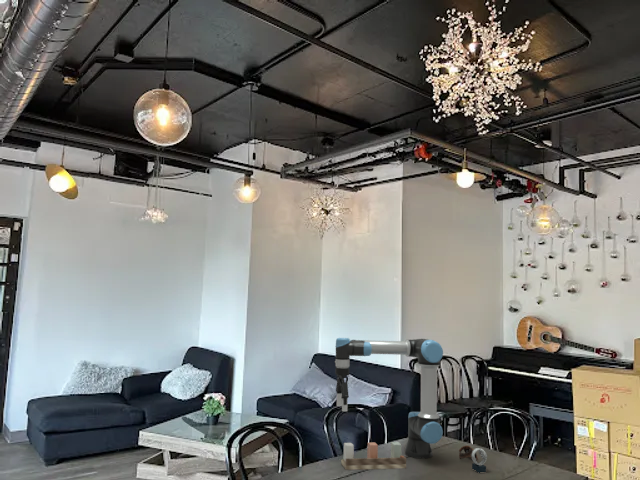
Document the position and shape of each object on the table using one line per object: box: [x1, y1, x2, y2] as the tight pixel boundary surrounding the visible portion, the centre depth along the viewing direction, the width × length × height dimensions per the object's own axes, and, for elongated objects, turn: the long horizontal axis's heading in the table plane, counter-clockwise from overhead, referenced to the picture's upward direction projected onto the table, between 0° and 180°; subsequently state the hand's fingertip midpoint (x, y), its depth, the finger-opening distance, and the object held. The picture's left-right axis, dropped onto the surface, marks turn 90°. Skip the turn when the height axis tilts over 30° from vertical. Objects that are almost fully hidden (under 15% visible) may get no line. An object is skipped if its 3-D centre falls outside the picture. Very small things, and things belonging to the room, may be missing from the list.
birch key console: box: [340, 454, 407, 471], centre depth 245 cm, size 32×10×6 cm, turn 101°
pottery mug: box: [458, 445, 479, 461], centre depth 262 cm, size 12×9×8 cm
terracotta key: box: [366, 441, 379, 458], centre depth 247 cm, size 4×5×8 cm
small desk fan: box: [471, 447, 488, 474], centre depth 243 cm, size 6×8×11 cm
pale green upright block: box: [390, 441, 402, 458], centre depth 250 cm, size 4×5×8 cm
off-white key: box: [343, 442, 355, 462], centre depth 245 cm, size 4×5×8 cm
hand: (341, 408), depth 249 cm, fingers open, 13 cm apart
